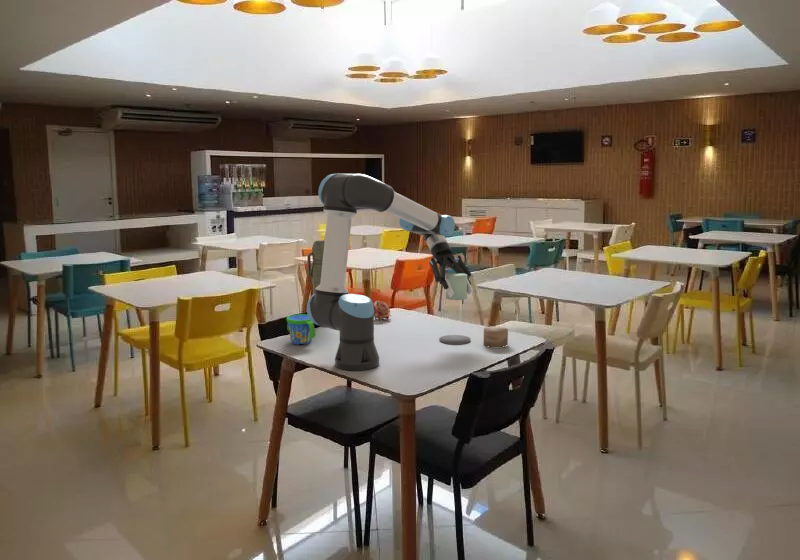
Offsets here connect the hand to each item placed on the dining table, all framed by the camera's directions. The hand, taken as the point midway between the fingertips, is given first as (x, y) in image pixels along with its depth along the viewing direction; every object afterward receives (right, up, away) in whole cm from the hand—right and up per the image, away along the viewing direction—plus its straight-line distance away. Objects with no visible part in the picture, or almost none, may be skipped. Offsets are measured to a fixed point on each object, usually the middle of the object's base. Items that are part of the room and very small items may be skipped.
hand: (461, 293), depth 247 cm
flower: (-31, -12, +41) cm, 53 cm away
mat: (-2, -18, +6) cm, 19 cm away
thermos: (-57, -13, +38) cm, 70 cm away
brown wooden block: (+13, -19, -1) cm, 23 cm away
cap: (-2, -2, +3) cm, 4 cm away
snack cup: (-61, -19, +3) cm, 64 cm away
